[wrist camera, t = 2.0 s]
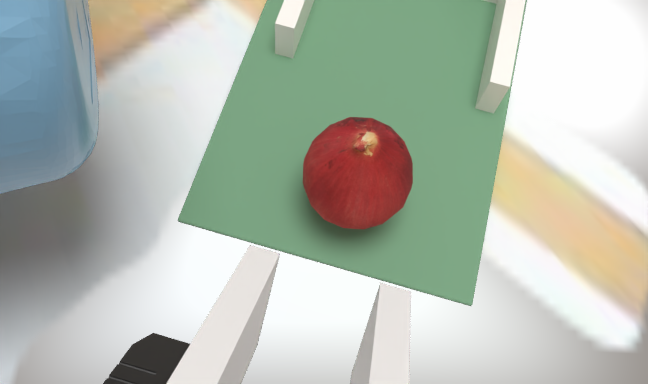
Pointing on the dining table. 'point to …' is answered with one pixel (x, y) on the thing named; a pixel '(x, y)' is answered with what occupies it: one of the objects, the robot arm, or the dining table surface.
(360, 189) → the onion
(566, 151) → the dining table surface
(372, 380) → the robot arm
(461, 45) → the felt mat
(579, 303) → the dining table surface
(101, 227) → the dining table surface
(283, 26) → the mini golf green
